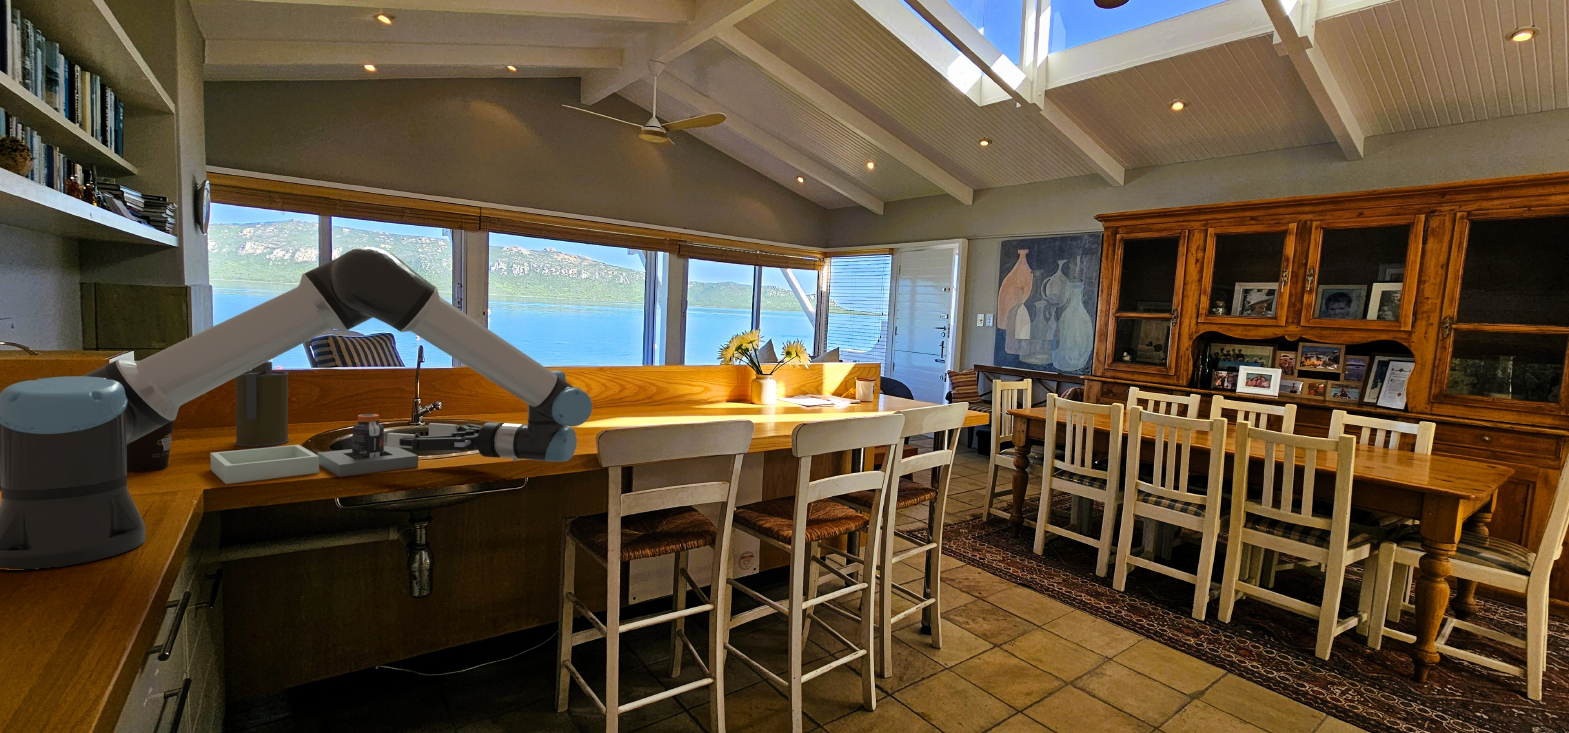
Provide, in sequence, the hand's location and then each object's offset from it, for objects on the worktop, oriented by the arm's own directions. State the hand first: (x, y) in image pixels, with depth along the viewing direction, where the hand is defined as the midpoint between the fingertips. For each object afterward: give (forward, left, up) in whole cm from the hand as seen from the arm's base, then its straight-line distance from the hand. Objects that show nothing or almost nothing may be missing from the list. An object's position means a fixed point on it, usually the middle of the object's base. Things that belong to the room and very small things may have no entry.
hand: (409, 434), depth 144 cm
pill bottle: (+8, +6, -8) cm, 12 cm away
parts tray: (+14, +23, -8) cm, 28 cm away
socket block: (+8, +6, -8) cm, 12 cm away
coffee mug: (+30, +38, -8) cm, 49 cm away
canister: (+47, +17, -8) cm, 50 cm away
